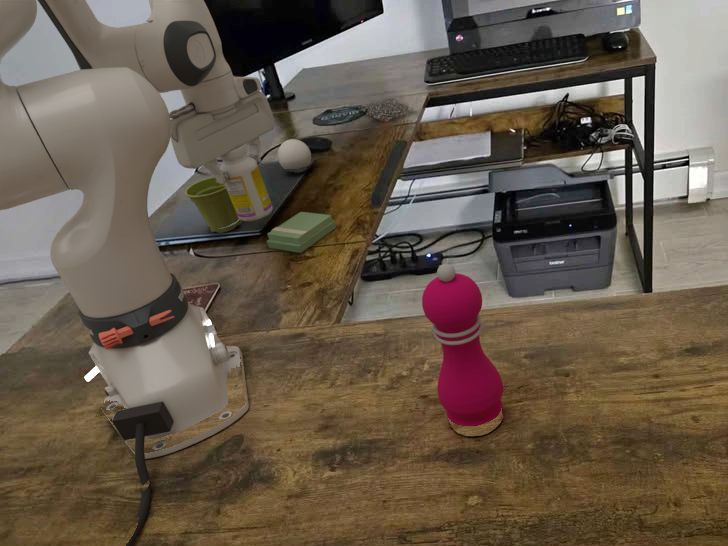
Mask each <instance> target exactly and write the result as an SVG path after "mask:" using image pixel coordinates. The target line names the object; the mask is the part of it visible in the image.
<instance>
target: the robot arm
mask: <svg viewBox="0 0 728 546" xmlns="http://www.w3.org/2000/svg"><path fill="white" fill-rule="evenodd" d="M38 3H39V5H40V6H41V8H42V9H43V11H44V12H45V13H46V16H47V17H48V18H49V20H50V21H51V23H52V24H53V25H54V27H55V29H56V30H57V32H58V33H59V34H60V36H61V37H62V39H63V40H64V42H65V43H66V45H67V46H68V48H69V50H70V51H71V53H72V55H73V57H74V59H75V61H76V64H77V66H78V68H79V69H78V70H75V71H69V72H67V73H63V74H59V75H55V76H51V77H47V78H42V79H39V80H35V81H32V82H31V81H30V82H28V83H23V84H19V85H9V84H6V83H5V82H4V81H3V78H2V75H1V74H0V211H5V210H9V209H12V208H16V207H19V206H22V205H26V204H29V203H32V202H35V201H38V200H42V199H44V198H48V197H51V196H54V195H58V194H60V193H61V194H62V193H63V192H67V191H70V190H71V191H73V190H76V191H77V190H78V191H80V192H81V193H82V194H83V199H82V202H81V205H80V207H79V209H78V210H77V211H76V212H75V214H73V216H72V217H70V218H69V219H68V221H66V223H64V224H63V225H62V227H61V228H60V229H59V230H58V231H57V233H56V234H55V236H54V238H53V240H52V242H51V246H50V253H49V254H50V260H51V264H52V266H53V267H54V269H55V270H56V273H57V274H58V276H59V278H60V279H61V281H62V282H63V284H64V285H65V287H66V290H68V292H69V294H70V296H71V297H72V299H73V300H74V302H75V304H76V306H77V307H78V311H77V313H78V316H79V318H80V320H81V324H82V325H83V327H84V329H85V331H86V333H88V334H89V336H90V338H91V340H92V342H93V343H92V345H91V347H90V350H89V351H88V355H89V357H90V358H91V360H92V362H93V363H94V365H95V367H93V368H92V369H91V370H90V371H89V372H88V373H87V374H86V375H85V376H84V379H85V381H86V382H90V381H92V379H93V378H95V377H96V375H97V374H99V373H100V375H101V377H102V379H103V380H104V381H105V383H106V385H107V386H106V387H104V393H105V394H106V397H105V398H104V399H103V400H104V403H105V401H106V400H107V401H109V400H110V402H111V401H113V403H111V404H109V405H108V406H107V407H106V410H110V409H113V408H115V407H116V406H117V405H118V403H119V404H123V406H124V408H126V409H123V410H118V411H116V413H115V415H114V417H113V419H112V422H111V421H110V419H109V418H108V417H107V415H106V414H105V413H104V411H103V410H102V408H101V407H100V409H101V410H102V411H101V412H102V413H103V414H104V416H105V417H106V418H107V420H108V421H109V423H110V424H111V426H112V427H113V428H114V430H115V431H116V432H117V434H118V435H119V436H120V438H121V439H122V441H123V442H124V443H125V444H126V446H127V447H128V448H129V450H130V451H131V453H132V454H133V455H134V459H135V467H136V470H137V475H138V477H139V481H140V485H141V484H142V485H144V484H145V483H147V481H148V480H149V477H150V474H149V471H148V467H147V463H146V460H149V459H154V458H159V457H162V456H166V455H169V454H172V453H175V452H178V451H180V450H183V449H185V448H188V447H190V446H193V445H195V444H197V443H199V442H201V441H203V440H206V439H208V438H209V437H212V436H214V435H215V434H217V433H220V432H221V431H223V430H224V429H226V428H227V427H229V426H231V425H232V424H234V423H235V422H236V421H238V420H239V419H240V418H241V417H242V416H244V414H246V412H248V410H249V407H250V405H249V396H248V395H249V394H248V388H247V380H246V379H247V378H246V374H245V364H244V357H243V356H244V355H243V352H242V350H241V349H240V347H239V346H236V345H226V344H225V343H223V342H221V340H220V338H219V336H218V335H217V334H218V330H217V327H216V325H215V324H214V323H212V321H211V319H210V318H209V316H208V315H207V312H206V310H205V308H204V307H201V306H198V305H196V304H195V305H194V304H192V303H190V302H189V301H188V298H187V296H186V294H185V291H184V287H183V286H182V284H181V283H180V282H179V280H178V279H177V277H176V276H175V275H174V274H173V273H172V272H170V270H169V268H168V266H167V264H166V262H165V259H164V256H163V255H162V253H161V250H160V248H159V245H158V242H157V240H156V237H155V235H154V231H153V229H152V226H151V223H150V218H149V212H148V211H149V210H148V196H149V189H150V184H151V181H152V178H153V175H154V173H155V170H156V168H157V166H158V164H159V162H160V161H161V159H162V157H163V156H164V155H165V153H166V152H167V149H168V147H169V144H170V142H171V145H172V148H173V151H174V154H175V158H176V160H177V163H178V164H179V165H180V166H182V167H183V168H185V169H193V170H197V169H199V168H201V167H203V166H204V168H206V169H207V170H208V171H209V172H210V173H212V174H213V175H214V177H215V178H216V180H217V182H218V183H220V184H224V183H226V182H227V181H229V180H230V178H229V177H228V173H227V171H221V170H220V167H219V166H218V165H219V161H218V158H220V156H222V155H224V154H226V153H228V152H230V151H232V150H234V149H236V148H238V147H240V146H242V145H244V146H245V144H246V145H249V150H248V151H249V152H248V153H249V154H248V155H247V156H248V157H251V158H253V159H254V160H255V161H256V162H257V165H258V166H259V165H260V164H262V159H261V156H260V150H261V140H260V137H261V136H263V135H265V134H267V133H269V132H271V131H272V130H274V127H275V117H274V114H273V111H272V108H271V106H270V105H271V104H270V103H269V101H268V98H267V96H266V95H265V94H264V93H263V92H262V91H261V90H262V83H261V80H260V78H259V77H255V76H240V75H234V74H233V72H232V69H231V66H230V65H229V63H228V62H227V60H226V58H225V56H224V53H223V46H222V45H223V44H222V40H221V38H220V35H219V32H218V29H217V27H216V24H215V21H214V19H213V17H212V15H211V13H210V10H209V8H208V6H207V4H206V2H205V0H148V4H149V8H150V11H151V13H150V15H149V17H148V18H147V20H146V21H145V22H143V23H139V24H133V25H126V26H120V27H114V26H110V25H107V24H105V23H102V22H101V21H99V20H98V18H97V17H96V15H95V13H94V11H93V10H92V8H91V7H90V4H89V3H88V2H87V0H0V64H1V63H2V60H3V59H4V57H5V56H6V55H7V54H8V53H9V52H10V51H11V50H12V49H14V47H15V46H17V44H18V43H20V41H22V39H23V38H24V37H25V36H26V35H27V34H28V32H30V30H31V29H32V27H33V26H34V24H35V22H36V19H37V15H38ZM173 91H180V92H181V95H182V98H183V100H184V102H185V105H183V106H181V107H180V108H178V109H173V110H171V111H169V108H168V106H167V104H166V102H165V100H164V98H163V97H162V95H161V94H163V93H165V94H166V93H169V92H173ZM231 352H232V353H231ZM240 357H241V359H240ZM240 362H241V365H242V373H243V382H244V390H245V399H246V403H245V405H244V406H243V407H242V408H241V409H240V410H239V411H238V412H237V413H236V414H234V415H233V416H232V417H230V416H231V414H232V412H231V411H225V412H222V413H221V414H220V415H219V417H218V418H219V419H226V418H228V417H230V418H229V419H227V420H226V421H224V422H223V423H221V424H219V425H218V426H216V427H214V428H212V429H210V430H208V431H206V432H204V433H202V434H200V435H198V436H196V437H194V438H192V439H189V440H187V441H185V442H182V443H180V444H177V445H174V446H172V447H169V448H166V449H162V450H159V451H155V452H150V453H144V443H145V437H147V438H148V439H157V438H161V437H164V436H167V435H170V434H173V433H176V432H178V431H181V430H183V429H186V428H188V427H190V426H192V425H194V424H196V423H198V422H200V421H202V420H204V419H206V418H208V417H210V416H212V415H214V414H215V413H217V412H218V411H221V410H222V409H223V408H225V407H226V405H227V404H228V396H227V386H226V380H227V372H229V373H231V368H235V369H236V366H237V367H240ZM234 387H238V385H235V386H234ZM237 396H239V395H237ZM103 400H102V401H101V403H102V402H103ZM114 401H117V402H114ZM113 424H114V425H113ZM131 439H135V452H134V451H133V450H132V449H131V448H130V446H129V445H128V444H127V442H126V440H131ZM165 445H166V441H165V440H161V441H158V442H156V443H155V444H154V445H153V447H152V449H154V450H158V449H161V448H162V447H164V446H165ZM140 489H141V490H140V504H139V507H138V511H137V514H136V516H135V518H134V520H133V522H134V521H135V519H136V518H137V517H139V520H138V525H137V528H136V530H135V532H134V534H133V536H132V537H131V539H130V540H129V542H128V543H127V544H126V546H132V545H133V544H134V542H135V541H136V539H137V538H138V535H139V534H140V531H141V530H142V527H143V525H144V523H145V521H146V519H147V516H148V514H149V510H150V507H151V499H152V482H151V481H150V484H149V486H148V488H147V489H146V490H145V491H142V488H140ZM126 536H127V534H126ZM126 536H125V537H126Z"/></svg>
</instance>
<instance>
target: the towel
mask: <svg viewBox="0 0 728 546" xmlns="http://www.w3.org/2000/svg"><path fill="white" fill-rule="evenodd" d="M335 229H337V225H336V221H335V220H334V219H333V216H332V215H331V214H324V213H315V212H308V211H307V212H306V211H300V212H298V213H297V214H295V215H293V216H291V218H289V219H287V220H286V221H284V222H283V223H281V224H280V225H278V226H275V227H274V228H272V229H271V231H270V232H267V237H268V240H266V244H267V247H268V249H274V250H280V251H284V252H285V251H286V252H291V253H299V254H302V253H303V252H305V251H307V249H309V248H310V247H312V246H313V245H315V244H316V243H317V242H318V241H320V240H321V239H323V238H324V237H325V236H327V235H328V234H330V233H331V232H332V231H334V230H335Z"/></svg>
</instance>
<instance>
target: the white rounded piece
mask: <svg viewBox="0 0 728 546" xmlns="http://www.w3.org/2000/svg"><path fill="white" fill-rule="evenodd" d="M277 161H278V162H279V165H280V166H281V167H282V169H284V170H285V169H299V168H302V167H306V166H309V167H310V165H311V164H312V151H311V150H310V148H309V145H307V144H306V143H305V142H303V141H302V140H299V139H295V138H289V139H287V140H285V141H284V142H282V143H281V144H280V146H279V148H278V149H277ZM307 170H308V168H306V169H304V170H302V171H298V172H297V173H296V172H295V173H294V174H302V173H303V172H305V171H307Z"/></svg>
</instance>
